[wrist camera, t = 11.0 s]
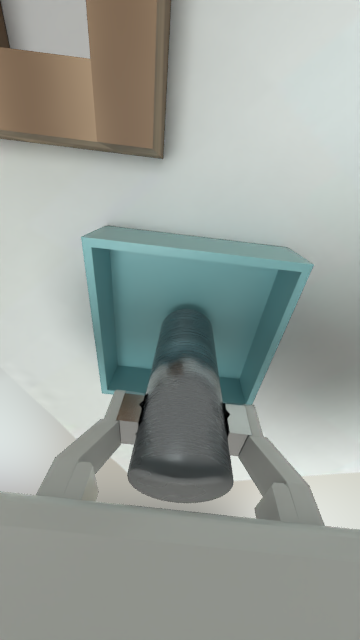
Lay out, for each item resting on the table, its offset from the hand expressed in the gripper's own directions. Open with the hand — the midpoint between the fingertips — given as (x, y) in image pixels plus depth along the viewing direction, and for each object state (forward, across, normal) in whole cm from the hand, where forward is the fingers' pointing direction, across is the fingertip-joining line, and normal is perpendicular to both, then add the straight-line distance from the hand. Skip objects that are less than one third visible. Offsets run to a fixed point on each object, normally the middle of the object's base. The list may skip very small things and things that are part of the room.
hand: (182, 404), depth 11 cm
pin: (+7, 0, 0) cm, 7 cm away
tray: (+9, 0, 0) cm, 9 cm away
